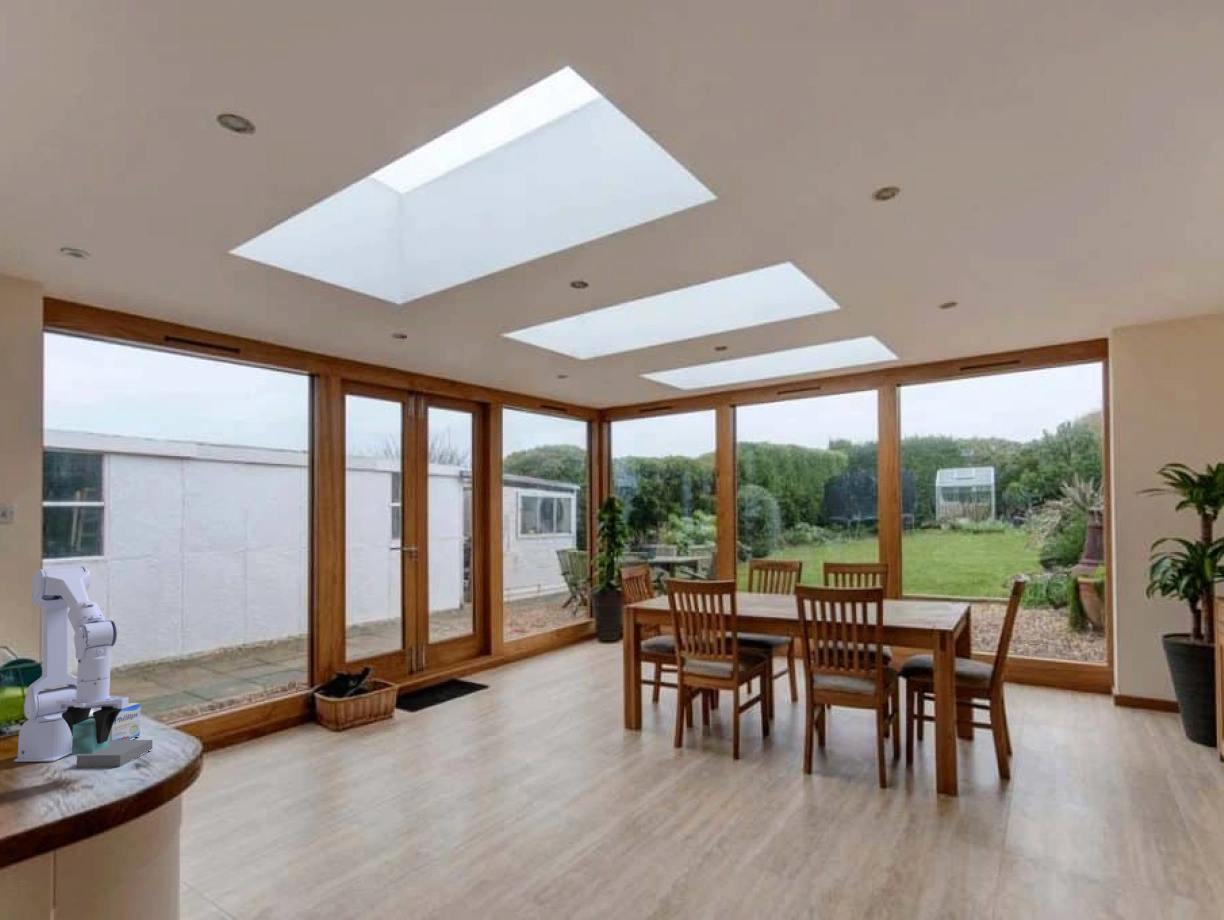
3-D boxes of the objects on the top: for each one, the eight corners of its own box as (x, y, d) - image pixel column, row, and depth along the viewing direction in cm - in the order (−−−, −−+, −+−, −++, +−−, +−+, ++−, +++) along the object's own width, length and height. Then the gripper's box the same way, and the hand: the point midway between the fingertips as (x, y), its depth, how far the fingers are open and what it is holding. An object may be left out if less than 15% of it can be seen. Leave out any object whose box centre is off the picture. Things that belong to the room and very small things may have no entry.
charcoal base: (76, 766, 148) (77, 755, 148) (111, 750, 158) (111, 740, 158) (119, 766, 147) (120, 755, 148) (152, 750, 157) (152, 739, 158)
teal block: (71, 754, 140) (73, 725, 140) (88, 746, 144) (90, 718, 145) (92, 753, 140) (93, 724, 140) (108, 746, 144) (110, 718, 145)
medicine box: (110, 748, 159) (112, 712, 160) (95, 747, 160) (97, 711, 161) (140, 737, 167) (141, 702, 168) (125, 736, 168) (127, 702, 169)
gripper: (45, 683, 139) (41, 749, 138) (111, 682, 139) (109, 748, 138) (73, 675, 146) (70, 737, 145) (136, 674, 146) (134, 737, 145)
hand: (90, 742), depth 142 cm, fingers closed on teal block, 4 cm apart
